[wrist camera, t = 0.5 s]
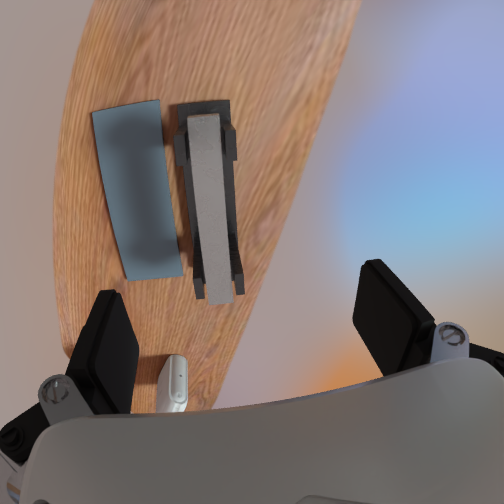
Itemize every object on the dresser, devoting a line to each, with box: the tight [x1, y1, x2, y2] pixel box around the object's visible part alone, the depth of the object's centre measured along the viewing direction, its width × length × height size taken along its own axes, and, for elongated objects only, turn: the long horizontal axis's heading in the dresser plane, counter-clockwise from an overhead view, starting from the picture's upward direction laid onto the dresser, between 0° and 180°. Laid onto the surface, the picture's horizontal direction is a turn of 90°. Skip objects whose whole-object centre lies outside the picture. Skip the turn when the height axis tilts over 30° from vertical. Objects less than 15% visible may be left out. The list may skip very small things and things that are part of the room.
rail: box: [187, 113, 234, 305], centre depth 33 cm, size 22×3×2 cm, turn 2°
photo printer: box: [156, 354, 188, 413], centre depth 53 cm, size 10×4×12 cm, turn 152°
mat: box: [92, 100, 183, 281], centre depth 40 cm, size 26×9×1 cm, turn 2°
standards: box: [173, 100, 245, 299], centre depth 36 cm, size 24×6×11 cm, turn 2°
